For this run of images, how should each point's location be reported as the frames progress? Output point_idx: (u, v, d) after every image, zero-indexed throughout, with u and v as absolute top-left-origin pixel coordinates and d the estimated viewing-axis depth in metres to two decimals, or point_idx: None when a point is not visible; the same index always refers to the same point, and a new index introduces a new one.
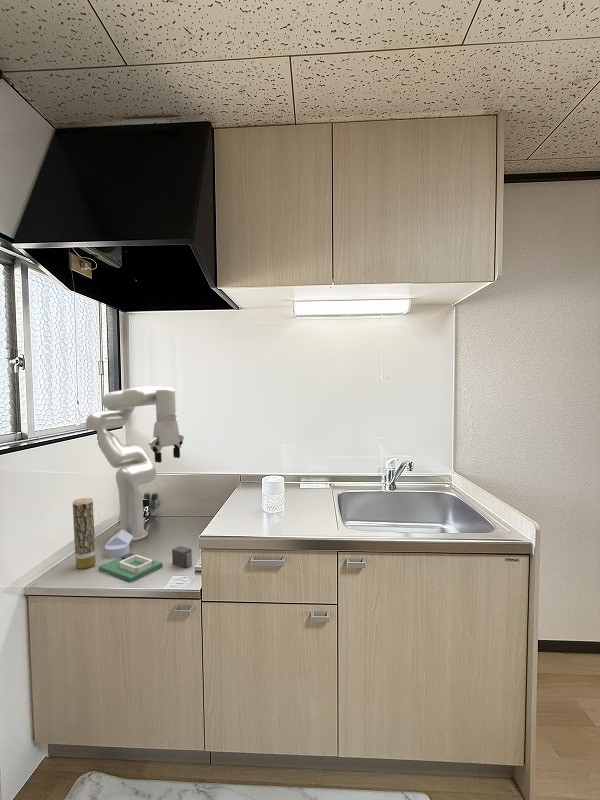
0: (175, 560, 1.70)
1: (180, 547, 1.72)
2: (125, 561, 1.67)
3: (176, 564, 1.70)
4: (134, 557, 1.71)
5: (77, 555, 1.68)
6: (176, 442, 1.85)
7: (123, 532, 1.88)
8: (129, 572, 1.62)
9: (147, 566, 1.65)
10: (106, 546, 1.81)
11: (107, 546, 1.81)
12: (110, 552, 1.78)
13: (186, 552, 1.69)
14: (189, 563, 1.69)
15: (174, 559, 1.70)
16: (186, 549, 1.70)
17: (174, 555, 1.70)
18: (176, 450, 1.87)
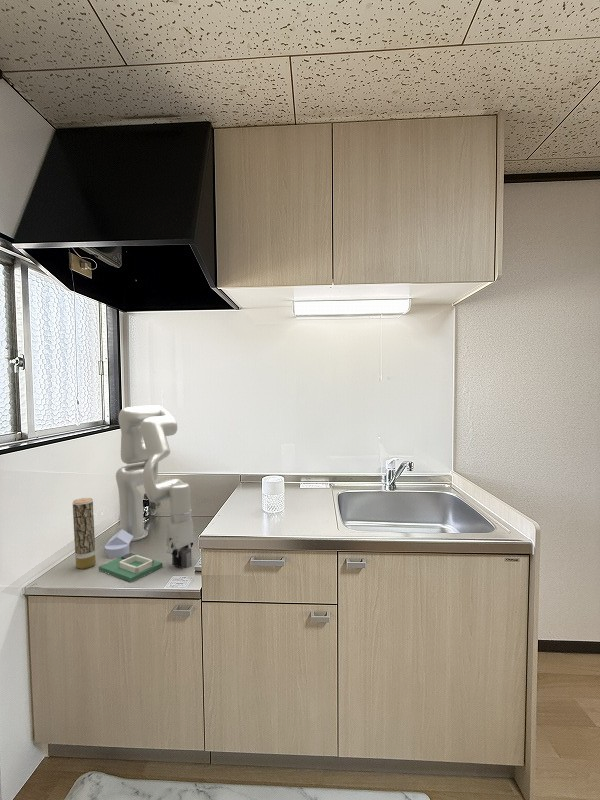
0: None
1: None
2: (125, 561, 1.67)
3: None
4: (134, 557, 1.71)
5: (77, 555, 1.68)
6: (191, 541, 1.72)
7: (123, 532, 1.88)
8: (129, 572, 1.62)
9: (147, 566, 1.65)
10: (106, 546, 1.81)
11: (107, 546, 1.80)
12: (110, 552, 1.78)
13: (186, 552, 1.69)
14: (189, 563, 1.69)
15: None
16: (186, 549, 1.70)
17: None
18: None
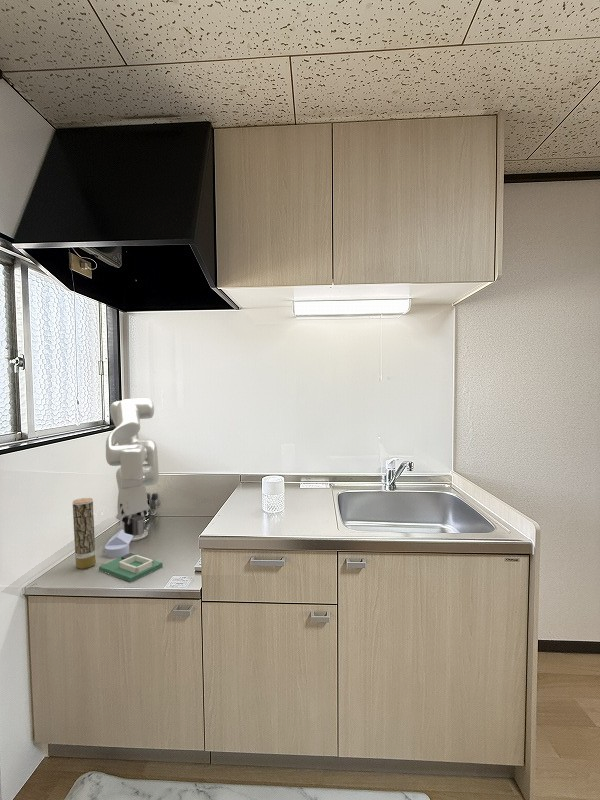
0: None
1: None
2: (125, 561, 1.67)
3: None
4: (134, 557, 1.71)
5: (77, 555, 1.68)
6: (144, 508, 1.66)
7: (122, 532, 1.88)
8: (129, 572, 1.62)
9: (147, 566, 1.65)
10: (106, 546, 1.81)
11: (107, 546, 1.80)
12: (110, 552, 1.78)
13: (137, 519, 1.63)
14: (141, 530, 1.63)
15: None
16: (138, 516, 1.65)
17: None
18: None
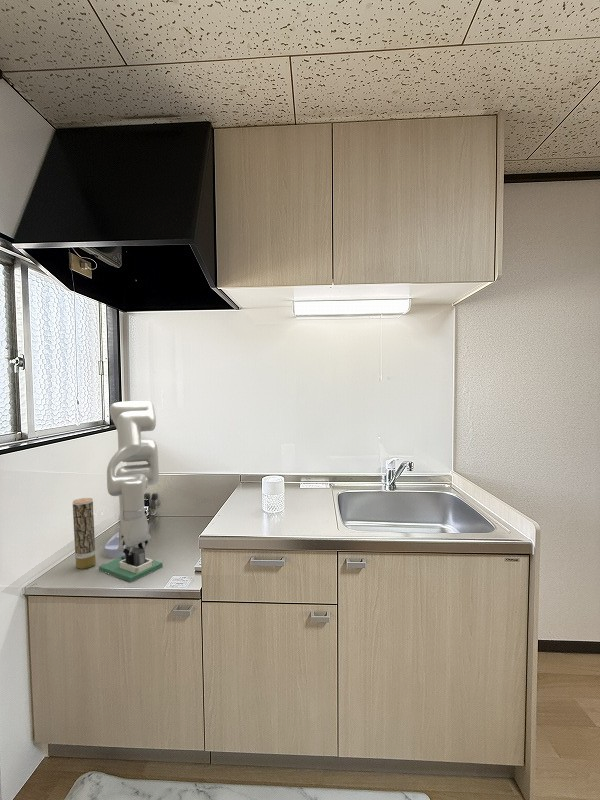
0: None
1: (133, 548, 1.68)
2: (125, 561, 1.67)
3: None
4: None
5: (77, 555, 1.68)
6: (145, 539, 1.67)
7: None
8: (129, 572, 1.62)
9: (147, 566, 1.65)
10: (106, 546, 1.81)
11: (107, 546, 1.80)
12: (110, 552, 1.78)
13: (139, 552, 1.64)
14: None
15: None
16: (139, 550, 1.66)
17: None
18: None
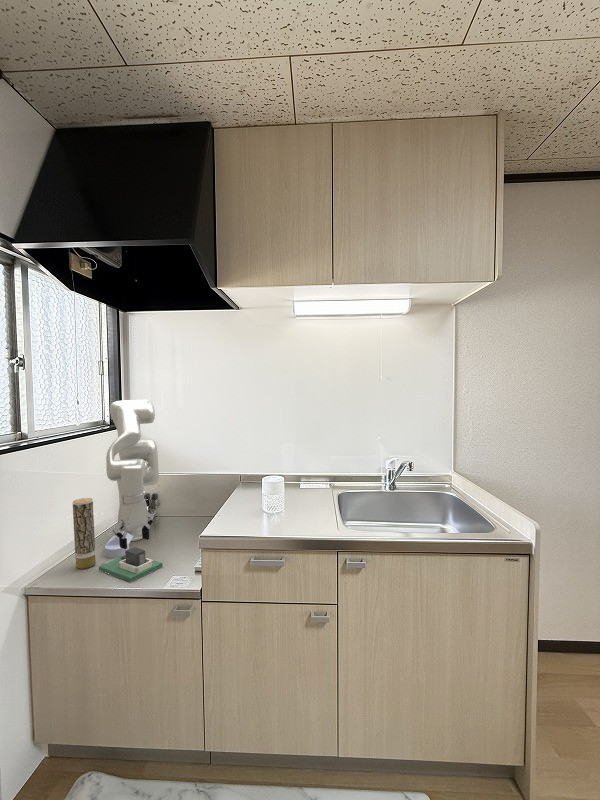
0: (129, 561, 1.65)
1: (134, 548, 1.68)
2: (125, 561, 1.67)
3: None
4: None
5: (77, 555, 1.68)
6: (144, 523, 1.67)
7: None
8: (129, 572, 1.62)
9: (147, 566, 1.65)
10: (106, 546, 1.81)
11: (107, 546, 1.80)
12: (110, 552, 1.78)
13: (139, 553, 1.64)
14: None
15: (127, 560, 1.66)
16: (140, 550, 1.66)
17: (127, 556, 1.65)
18: (145, 531, 1.70)
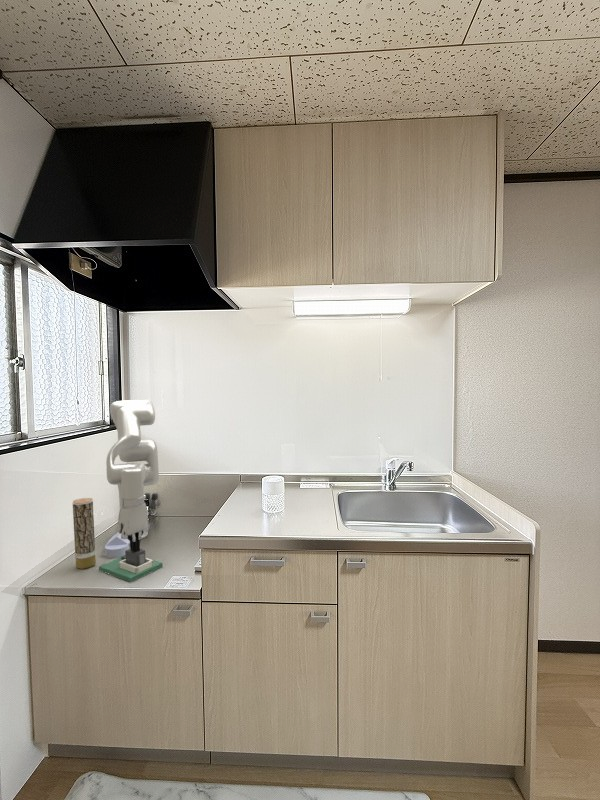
0: (129, 561, 1.65)
1: None
2: (125, 561, 1.67)
3: None
4: None
5: (77, 555, 1.68)
6: (145, 527, 1.67)
7: None
8: (129, 572, 1.62)
9: (147, 566, 1.65)
10: (106, 546, 1.81)
11: (107, 546, 1.80)
12: (110, 552, 1.78)
13: (139, 553, 1.64)
14: None
15: (127, 560, 1.66)
16: (140, 550, 1.66)
17: (127, 556, 1.65)
18: None
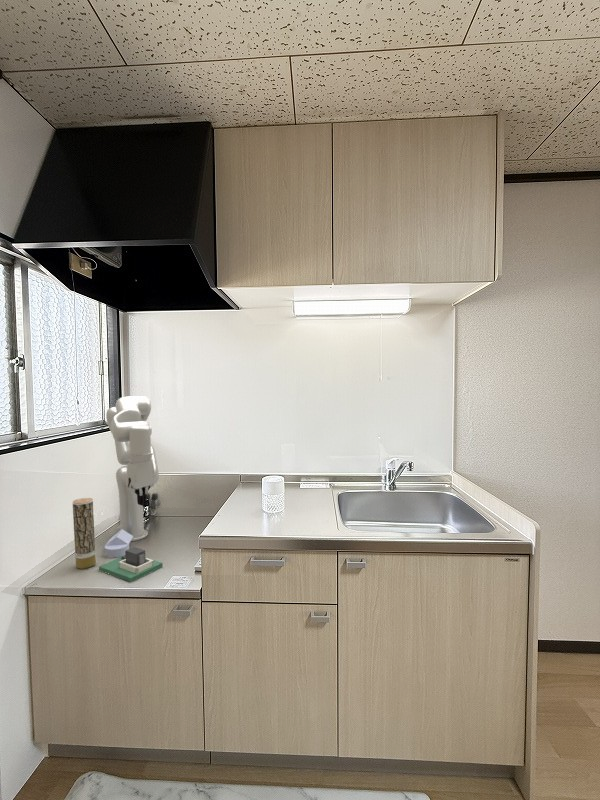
0: (129, 561, 1.65)
1: (134, 548, 1.68)
2: (125, 561, 1.67)
3: None
4: None
5: (77, 555, 1.68)
6: (151, 482, 1.74)
7: (122, 532, 1.88)
8: (129, 572, 1.62)
9: (147, 566, 1.65)
10: (106, 546, 1.81)
11: (107, 546, 1.80)
12: (110, 552, 1.78)
13: (139, 553, 1.64)
14: None
15: (127, 560, 1.66)
16: (140, 550, 1.66)
17: (127, 556, 1.65)
18: None
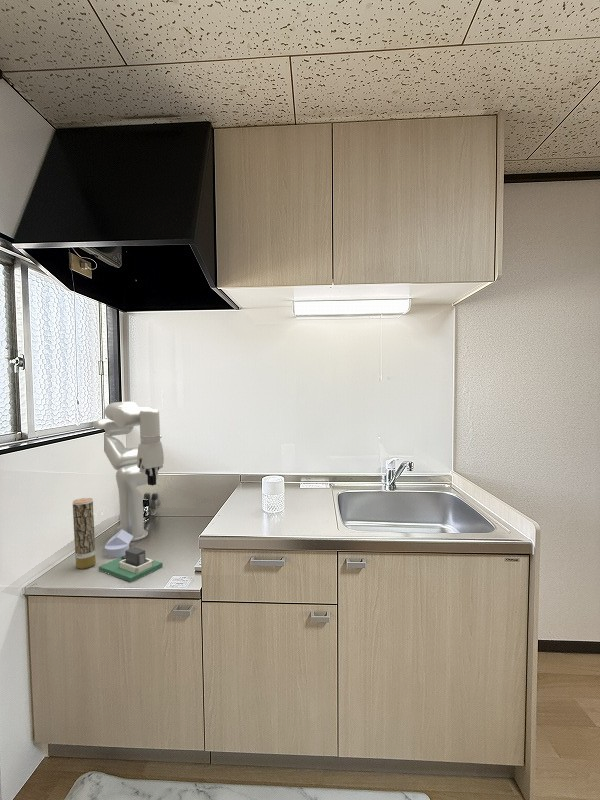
0: (129, 561, 1.65)
1: (134, 548, 1.68)
2: (125, 561, 1.67)
3: None
4: None
5: (77, 555, 1.68)
6: (160, 464, 1.84)
7: (122, 532, 1.88)
8: (129, 572, 1.62)
9: (147, 566, 1.65)
10: (106, 546, 1.81)
11: (107, 546, 1.80)
12: (110, 552, 1.78)
13: (139, 553, 1.64)
14: None
15: (127, 560, 1.66)
16: (140, 550, 1.66)
17: (127, 556, 1.65)
18: None
